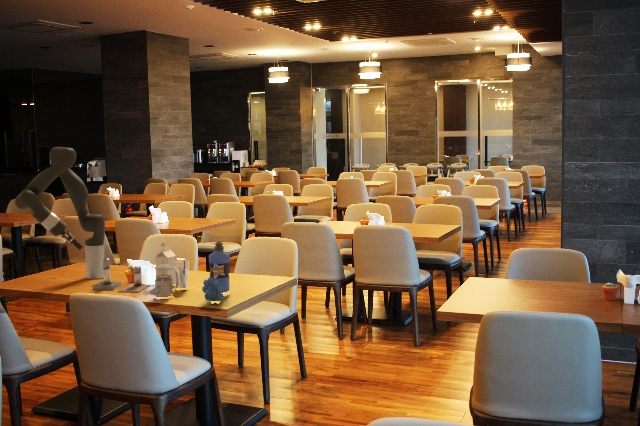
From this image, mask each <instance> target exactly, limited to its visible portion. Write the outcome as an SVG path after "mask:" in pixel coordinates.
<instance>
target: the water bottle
mask: <svg viewBox="0 0 640 426" xmlns="http://www.w3.org/2000/svg"><path fill="white" fill-rule="evenodd" d="M214 245H215V246H214V251H213V252H212V253H210V254H208V263H209V269H210V271H209V277H211V278H213V279H214V280H218V281H219V286H221V287H222V288H223V292H227V291H229V290H230V274H229V267H230V254H229V253H227V252H225V251H224V250H225V249H224V247H225V246H224V243H223V242H221V241H216V243H214Z"/></svg>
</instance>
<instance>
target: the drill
mask: <svg viewBox="0 0 640 426" xmlns="http://www.w3.org/2000/svg"><path fill="white" fill-rule="evenodd" d="M111 275H112V274H111V259H110V258H109V257H104V259H103V278H102V279H103V280H102V281H103V284H108V285H110V284H111V282H112V281H111V279H112V278H111Z"/></svg>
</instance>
